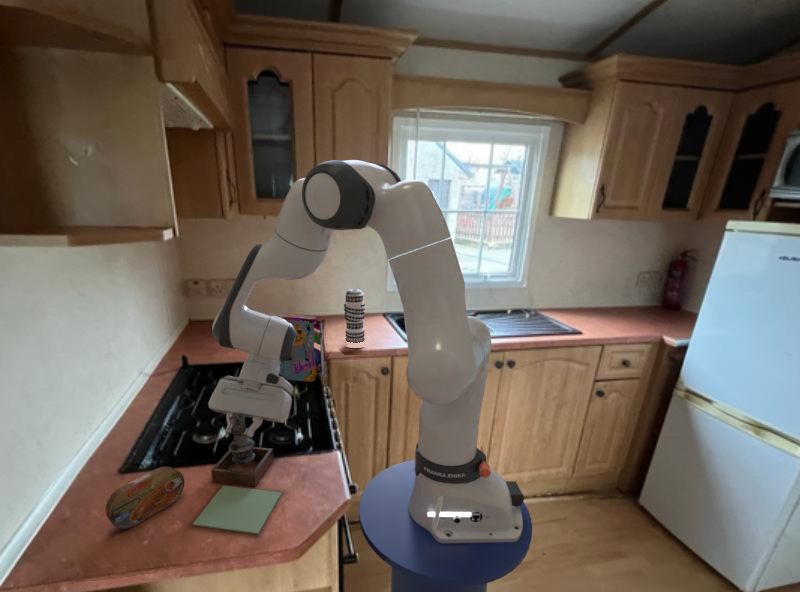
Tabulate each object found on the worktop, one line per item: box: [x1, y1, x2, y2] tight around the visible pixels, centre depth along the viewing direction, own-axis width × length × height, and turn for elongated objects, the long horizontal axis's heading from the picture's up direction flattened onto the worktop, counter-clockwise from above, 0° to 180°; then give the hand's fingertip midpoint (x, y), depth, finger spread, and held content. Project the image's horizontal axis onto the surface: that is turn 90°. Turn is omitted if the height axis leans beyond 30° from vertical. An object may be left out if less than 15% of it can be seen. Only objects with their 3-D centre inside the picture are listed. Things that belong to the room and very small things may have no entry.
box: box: [277, 312, 330, 389], centre depth 143 cm, size 25×6×24 cm, turn 73°
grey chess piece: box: [228, 413, 256, 465], centre depth 95 cm, size 6×6×12 cm
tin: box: [104, 466, 185, 530], centre depth 84 cm, size 15×3×8 cm, turn 143°
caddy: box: [210, 446, 275, 488], centre depth 98 cm, size 11×11×3 cm
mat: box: [192, 485, 282, 535], centre depth 86 cm, size 14×12×1 cm
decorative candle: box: [343, 288, 366, 343], centre depth 178 cm, size 9×9×25 cm
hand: (238, 434), depth 94 cm, fingers closed on grey chess piece, 3 cm apart
